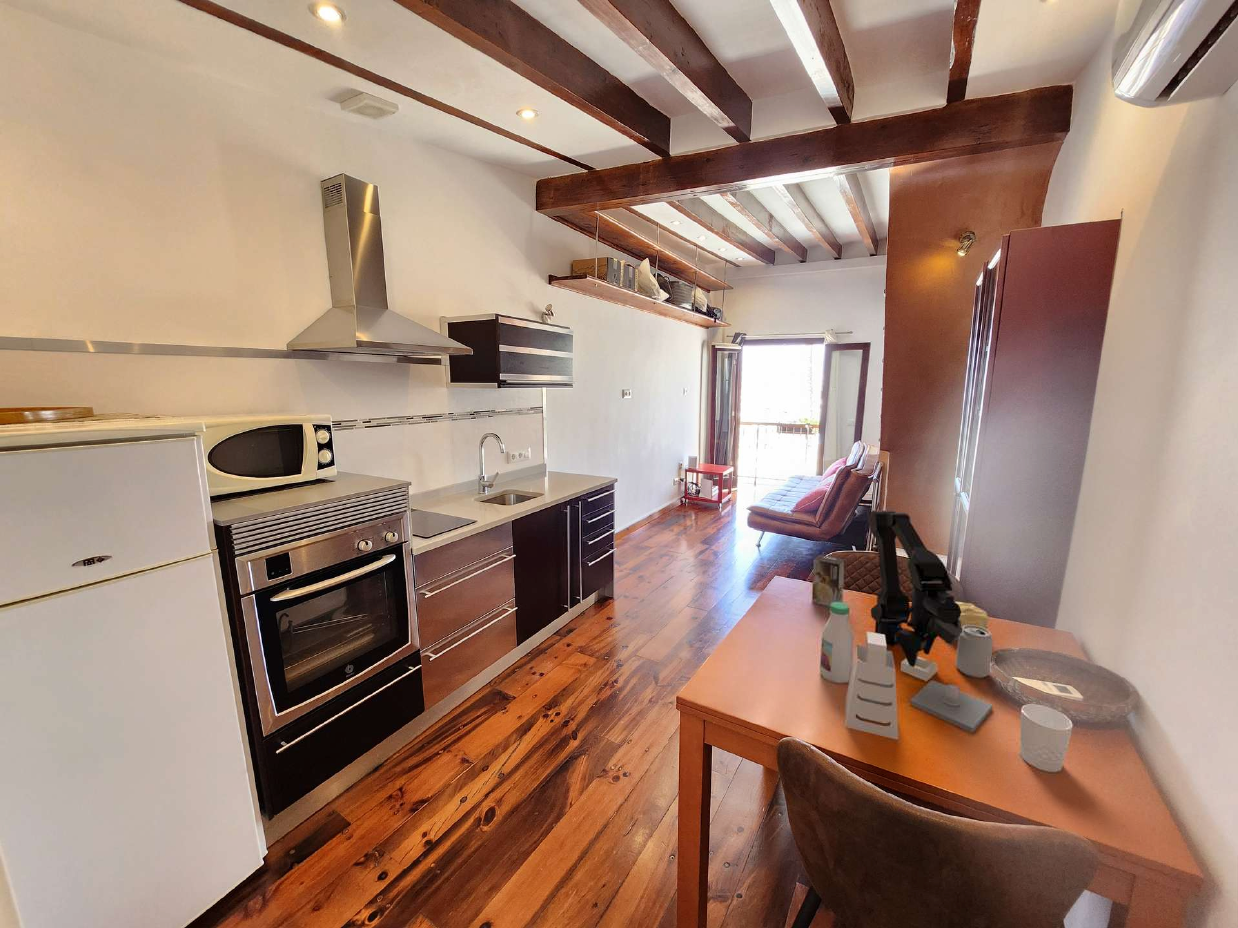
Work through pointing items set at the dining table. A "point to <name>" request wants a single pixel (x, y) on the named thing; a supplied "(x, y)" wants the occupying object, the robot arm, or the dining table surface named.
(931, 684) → the post stand
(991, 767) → the dining table surface
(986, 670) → the can
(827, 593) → the coffee box
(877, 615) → the robot arm
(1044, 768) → the white cup
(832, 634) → the milk bottle
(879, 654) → the grater
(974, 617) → the sculpture
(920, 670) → the white square frame
